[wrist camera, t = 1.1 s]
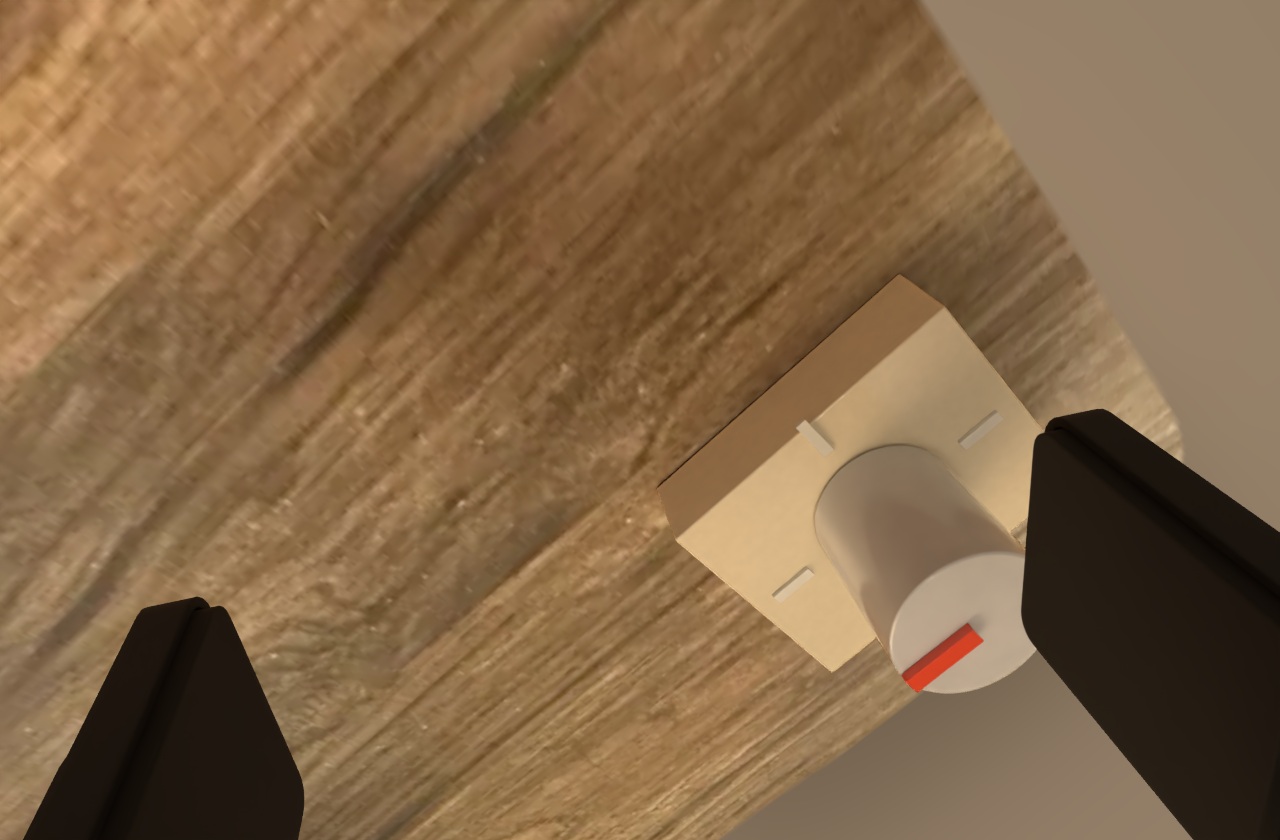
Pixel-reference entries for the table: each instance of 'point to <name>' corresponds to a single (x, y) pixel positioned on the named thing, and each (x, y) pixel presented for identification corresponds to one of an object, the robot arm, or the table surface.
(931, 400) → the panel
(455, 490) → the table surface
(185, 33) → the table surface
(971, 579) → the tap knob
